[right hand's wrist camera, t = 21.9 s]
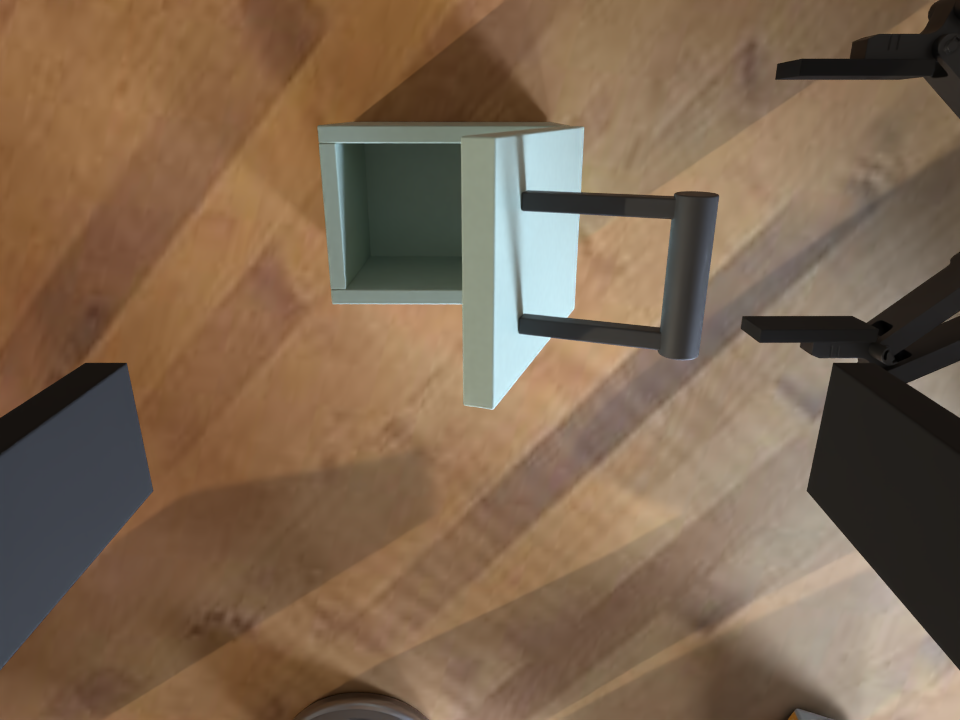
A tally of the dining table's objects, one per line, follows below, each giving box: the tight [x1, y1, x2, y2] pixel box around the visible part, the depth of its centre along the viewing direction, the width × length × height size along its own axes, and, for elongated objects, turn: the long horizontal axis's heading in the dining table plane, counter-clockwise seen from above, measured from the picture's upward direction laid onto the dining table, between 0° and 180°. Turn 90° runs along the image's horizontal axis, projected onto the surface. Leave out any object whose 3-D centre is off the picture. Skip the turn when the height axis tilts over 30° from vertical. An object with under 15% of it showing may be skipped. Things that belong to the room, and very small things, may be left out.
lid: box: [461, 126, 719, 409], centre depth 28 cm, size 14×10×8 cm
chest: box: [318, 122, 568, 304], centre depth 40 cm, size 13×10×10 cm
